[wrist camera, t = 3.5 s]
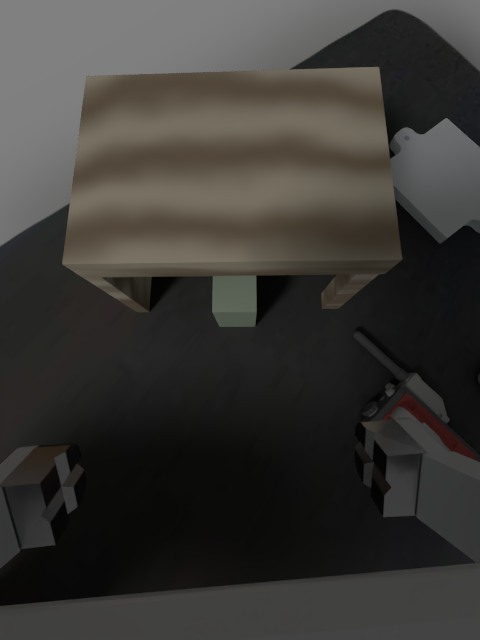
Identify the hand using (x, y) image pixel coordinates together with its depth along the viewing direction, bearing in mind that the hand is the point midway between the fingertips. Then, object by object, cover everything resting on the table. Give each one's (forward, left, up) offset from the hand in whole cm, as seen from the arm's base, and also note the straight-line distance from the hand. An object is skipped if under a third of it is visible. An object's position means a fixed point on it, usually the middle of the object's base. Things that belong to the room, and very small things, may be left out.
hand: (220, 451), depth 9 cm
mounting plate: (+29, -27, -29) cm, 49 cm away
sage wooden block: (+11, +1, -28) cm, 30 cm away
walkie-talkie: (-1, -18, -29) cm, 34 cm away
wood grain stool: (+20, +1, -28) cm, 34 cm away
